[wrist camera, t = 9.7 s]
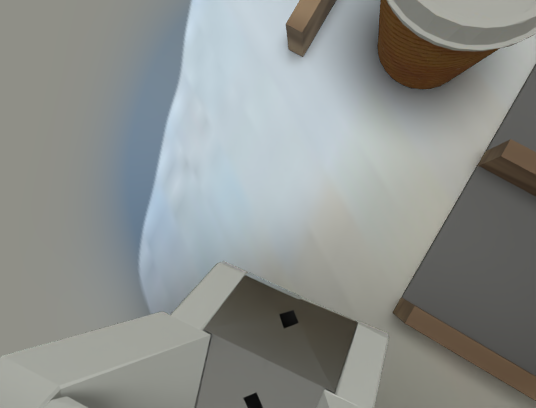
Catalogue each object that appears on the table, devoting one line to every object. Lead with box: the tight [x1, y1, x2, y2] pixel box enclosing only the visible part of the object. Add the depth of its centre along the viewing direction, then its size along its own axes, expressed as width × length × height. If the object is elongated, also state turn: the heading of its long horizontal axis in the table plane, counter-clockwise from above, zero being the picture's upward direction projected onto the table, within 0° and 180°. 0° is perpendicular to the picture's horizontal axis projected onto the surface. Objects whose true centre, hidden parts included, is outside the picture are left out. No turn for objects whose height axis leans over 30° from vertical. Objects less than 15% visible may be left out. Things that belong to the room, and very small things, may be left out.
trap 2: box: [402, 166, 536, 376], centre depth 31 cm, size 10×11×1 cm
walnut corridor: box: [286, 0, 536, 401], centre depth 30 cm, size 25×27×4 cm
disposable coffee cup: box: [378, 0, 536, 89], centre depth 27 cm, size 10×10×12 cm
